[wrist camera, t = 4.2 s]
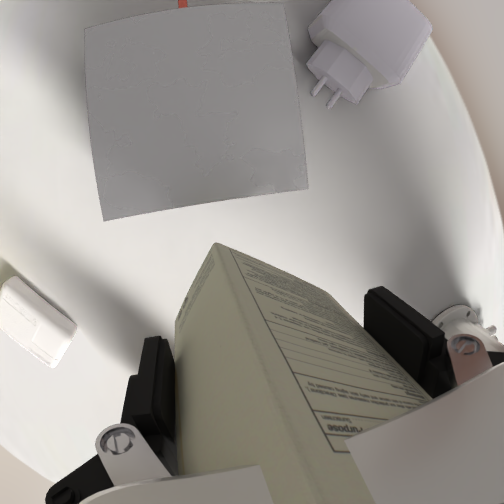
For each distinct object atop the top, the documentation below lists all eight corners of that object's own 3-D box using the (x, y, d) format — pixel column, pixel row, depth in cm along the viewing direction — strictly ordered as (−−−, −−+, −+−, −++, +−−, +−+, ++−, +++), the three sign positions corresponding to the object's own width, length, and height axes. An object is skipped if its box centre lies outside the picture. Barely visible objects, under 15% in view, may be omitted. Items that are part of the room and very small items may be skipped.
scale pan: (269, 6, 20) (280, -14, 17) (292, 184, 25) (308, 188, 22) (97, 29, 19) (85, 11, 15) (116, 212, 23) (103, 221, 20)
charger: (268, 75, 25) (346, -17, 23) (347, 136, 28) (410, 39, 26) (282, 60, 21) (367, -36, 19) (373, 133, 23) (437, 28, 21)
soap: (-1, 307, 26) (-14, 319, 23) (15, 271, 26) (1, 281, 23) (61, 357, 29) (52, 373, 26) (81, 325, 28) (72, 340, 26)
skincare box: (172, 322, 14) (173, 615, 2) (214, 236, 13) (319, 565, 2) (290, 364, 16) (399, 578, 4) (335, 293, 15) (520, 488, 4)
